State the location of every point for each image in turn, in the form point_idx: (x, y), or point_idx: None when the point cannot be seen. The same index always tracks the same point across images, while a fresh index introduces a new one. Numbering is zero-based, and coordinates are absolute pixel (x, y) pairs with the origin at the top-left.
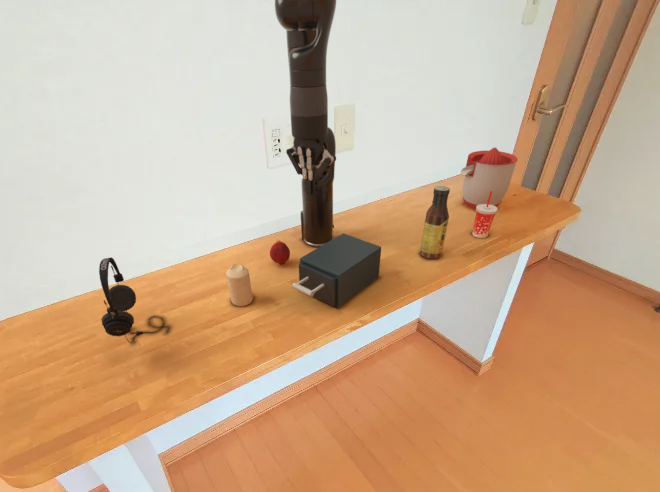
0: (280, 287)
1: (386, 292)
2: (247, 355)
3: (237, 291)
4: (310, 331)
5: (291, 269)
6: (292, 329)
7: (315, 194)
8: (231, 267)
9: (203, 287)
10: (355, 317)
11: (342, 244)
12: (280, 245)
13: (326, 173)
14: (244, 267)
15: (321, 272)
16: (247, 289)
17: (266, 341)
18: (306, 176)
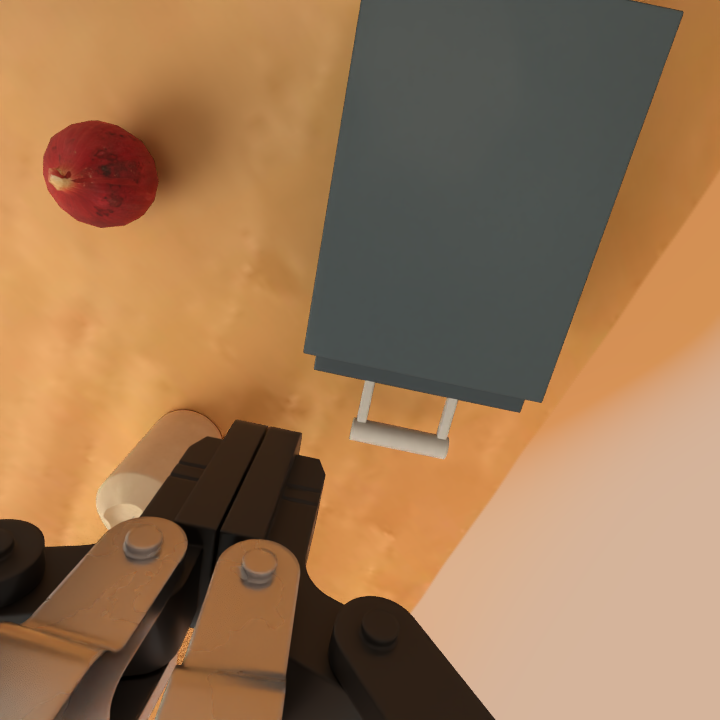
0: (249, 324)
1: (666, 152)
2: None
3: None
4: (473, 475)
5: (201, 188)
6: (419, 488)
7: (298, 450)
8: (109, 524)
9: (27, 438)
10: (586, 359)
11: (436, 112)
12: (94, 194)
13: (446, 665)
14: (148, 501)
15: (445, 386)
16: None
17: (380, 551)
18: (169, 670)
